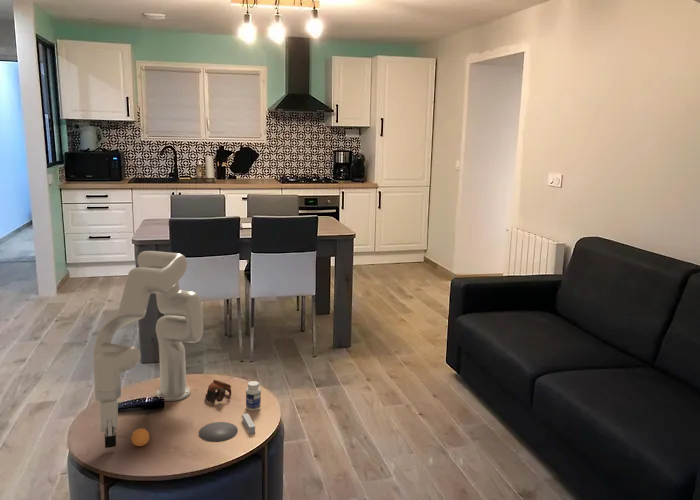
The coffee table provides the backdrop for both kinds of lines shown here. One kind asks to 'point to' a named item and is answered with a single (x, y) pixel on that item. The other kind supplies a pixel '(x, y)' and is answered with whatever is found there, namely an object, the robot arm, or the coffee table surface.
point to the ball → (140, 437)
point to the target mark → (218, 431)
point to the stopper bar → (248, 423)
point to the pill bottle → (253, 396)
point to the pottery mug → (220, 393)
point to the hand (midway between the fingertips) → (110, 445)
